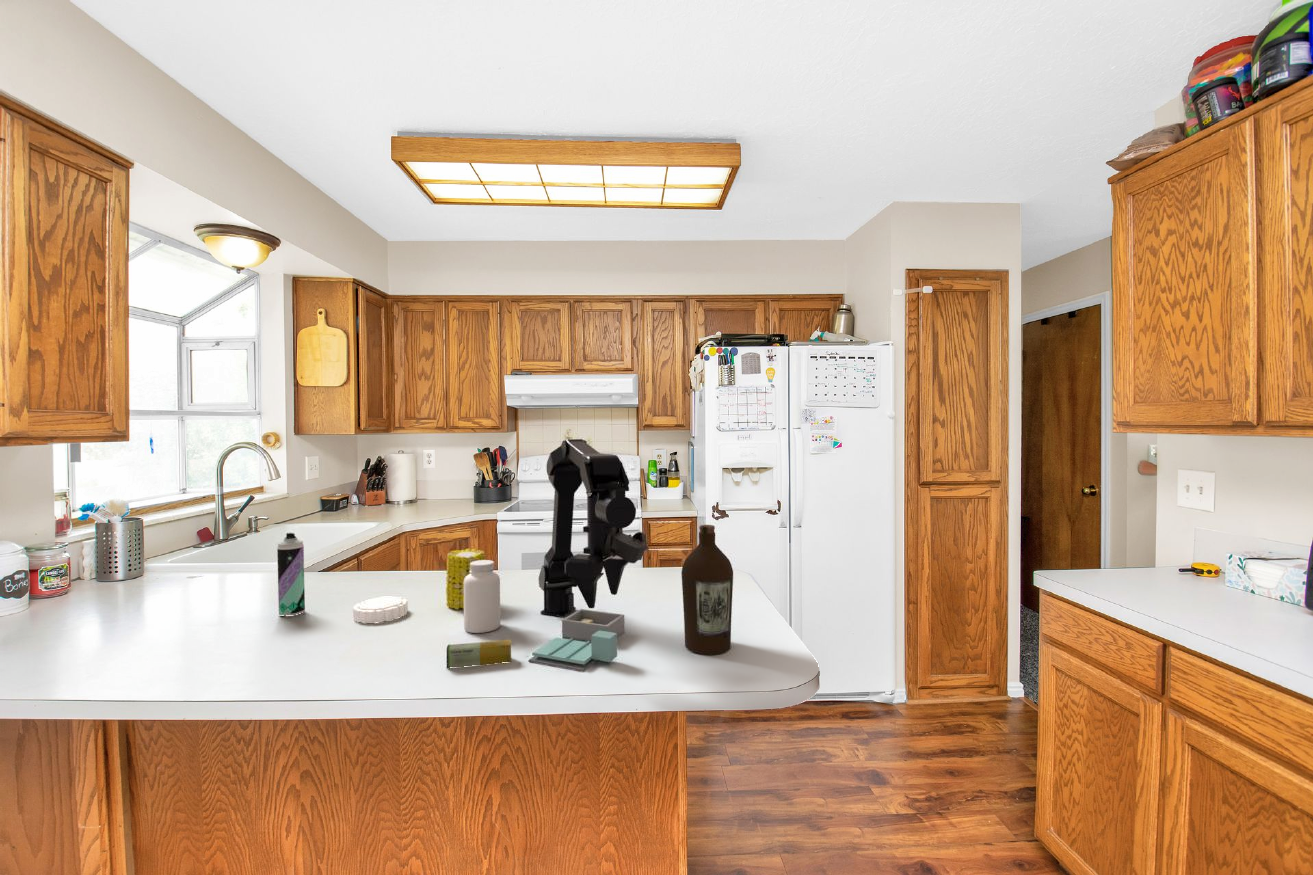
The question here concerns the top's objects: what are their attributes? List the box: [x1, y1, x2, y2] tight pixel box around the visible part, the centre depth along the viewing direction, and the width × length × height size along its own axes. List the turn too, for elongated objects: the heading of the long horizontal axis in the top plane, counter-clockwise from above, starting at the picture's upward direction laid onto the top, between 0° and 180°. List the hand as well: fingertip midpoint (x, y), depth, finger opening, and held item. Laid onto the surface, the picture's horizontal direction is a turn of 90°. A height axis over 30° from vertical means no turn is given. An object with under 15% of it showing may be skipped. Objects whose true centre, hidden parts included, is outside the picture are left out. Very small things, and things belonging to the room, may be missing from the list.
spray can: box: [276, 532, 306, 616], centre depth 143 cm, size 6×6×20 cm
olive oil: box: [681, 524, 734, 656], centre depth 119 cm, size 11×11×25 cm
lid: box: [531, 631, 618, 664], centre depth 114 cm, size 16×9×5 cm, turn 67°
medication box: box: [446, 639, 512, 669], centre depth 112 cm, size 12×3×4 cm, turn 104°
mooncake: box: [352, 595, 409, 624], centre depth 141 cm, size 12×12×4 cm
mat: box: [528, 656, 597, 672], centre depth 115 cm, size 12×10×1 cm
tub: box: [561, 608, 626, 643], centre depth 126 cm, size 11×8×4 cm
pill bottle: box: [463, 559, 501, 634], centre depth 131 cm, size 8×8×15 cm
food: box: [445, 547, 486, 611], centre depth 148 cm, size 15×12×10 cm
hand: (603, 600), depth 112 cm, fingers open, 9 cm apart
